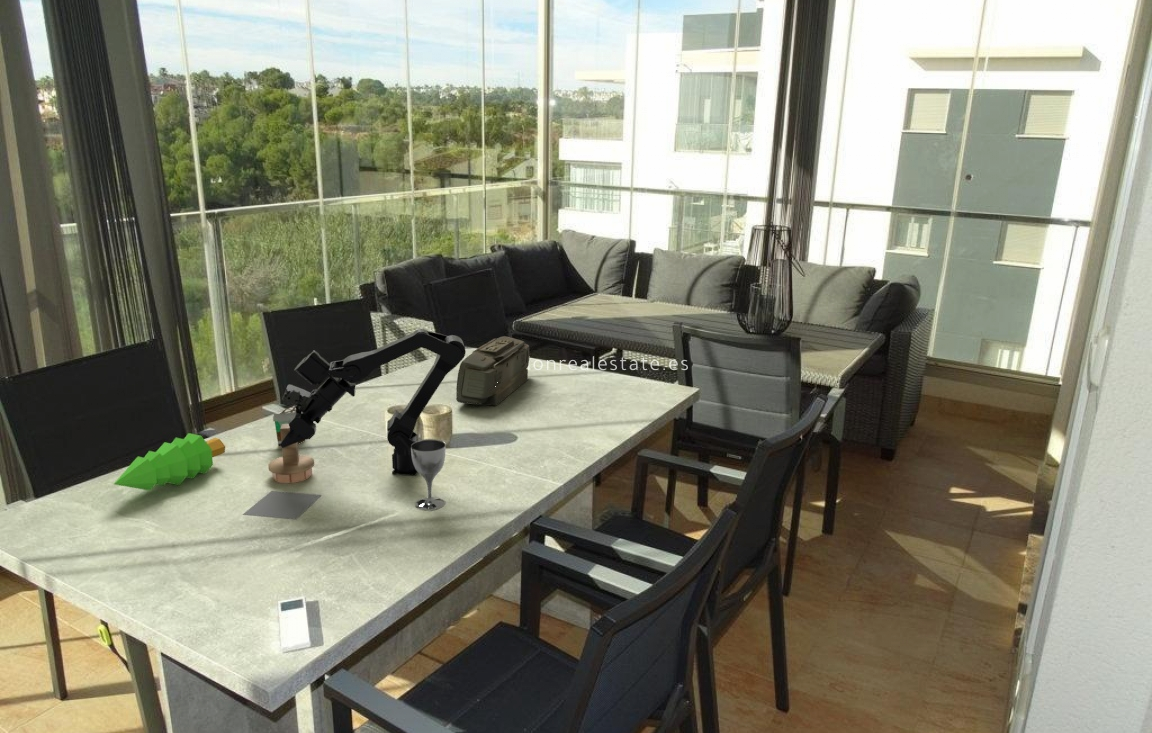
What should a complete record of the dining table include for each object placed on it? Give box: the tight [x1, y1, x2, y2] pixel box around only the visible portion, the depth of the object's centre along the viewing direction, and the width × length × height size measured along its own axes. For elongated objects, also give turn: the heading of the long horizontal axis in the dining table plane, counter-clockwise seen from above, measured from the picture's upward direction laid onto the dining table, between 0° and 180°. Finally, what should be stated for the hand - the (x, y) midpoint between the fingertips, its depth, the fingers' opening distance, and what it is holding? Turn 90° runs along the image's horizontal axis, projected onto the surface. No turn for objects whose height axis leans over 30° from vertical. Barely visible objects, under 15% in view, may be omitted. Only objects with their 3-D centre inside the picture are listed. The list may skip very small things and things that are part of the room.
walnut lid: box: [267, 424, 315, 475], centre depth 200 cm, size 11×11×11 cm
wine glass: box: [411, 438, 447, 511], centre depth 187 cm, size 8×8×15 cm
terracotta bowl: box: [271, 467, 313, 484], centre depth 202 cm, size 9×9×3 cm
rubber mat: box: [242, 490, 323, 520], centre depth 186 cm, size 13×13×1 cm
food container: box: [272, 404, 306, 447], centre depth 225 cm, size 12×6×10 cm, turn 168°
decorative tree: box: [113, 433, 226, 491], centre depth 195 cm, size 11×12×30 cm
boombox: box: [455, 335, 530, 406], centre depth 274 cm, size 44×17×20 cm, turn 163°
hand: (283, 439), depth 199 cm, fingers open, 9 cm apart
